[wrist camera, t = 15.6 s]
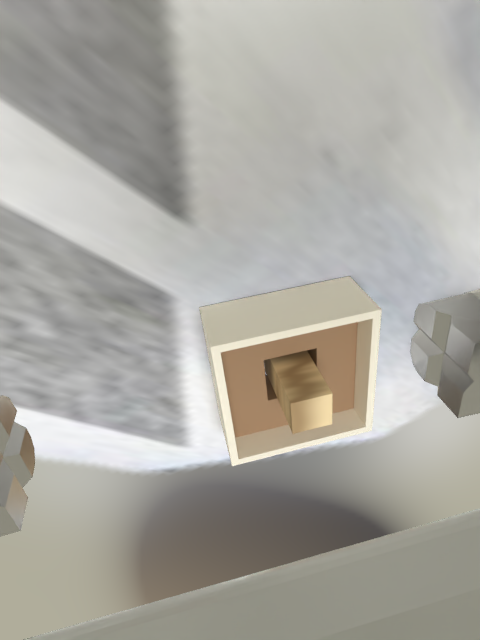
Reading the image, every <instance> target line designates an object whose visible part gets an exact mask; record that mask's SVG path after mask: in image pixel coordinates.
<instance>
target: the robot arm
mask: <svg viewBox="0 0 480 640" xmlns="http://www.w3.org/2000/svg"><path fill="white" fill-rule="evenodd" d="M414 323H415V324H416V325H417V326H418V328H419V330H418V331H417V332H416V334H415V335H414V336H413V338H412V339H411V349H410V353H411V357H412V362H413V365H414V367H415V369H416V371H417V372H418V374H419V375H420V376H421V377H422V379H423V380H424V381H426V382H428V383H431V384H433V385H435V386H438V397H439V398H440V399H441V400H442V401H443V402H444V403H445V404H446V405H447V407H448V408H449V409H450V410H451V411H452V412H453V413H454V414H455V415H456V417H457V418H460V417H464V416H469V415H473V414H478V413H480V289H478V290H474V291H470V292H466V293H464V294H461V295H457V296H453V297H448V298H444V299H439V300H435V301H431V302H426V303H422V304H419V305H418V307H417V309H416V311H415V316H414ZM16 412H17V410H16V409H15V407H14V405H13V404H12V402H11V400H10V399H9V398H8V397H6V396H3V395H2V396H0V536H4V535H7V534H11V533H14V532H18V531H20V530H21V526H22V522H23V518H24V513H25V508H26V504H27V499H28V497H27V495H26V494H25V492H24V490H23V487H24V486H25V485H26V484H27V482H28V481H29V480H30V479H31V478H32V476H33V471H34V466H35V454H34V446H33V443H32V439H31V436H30V434H29V433H28V431H27V429H26V428H25V427H23V426H21V425H19V424H17V423H15V422H14V419H15V416H16ZM24 640H480V509H476V510H473V511H469V512H466V513H462V514H459V515H455V516H452V517H448V518H445V519H442V520H438V521H435V522H431V523H428V524H424V525H421V526H417V527H414V528H410V529H407V530H403V531H400V532H396V533H393V534H389V535H386V536H382V537H379V538H376V539H372V540H369V541H365V542H362V543H358V544H355V545H351V546H348V547H345V548H341V549H337V550H334V551H331V552H327V553H324V554H320V555H316V556H313V557H309V558H306V559H303V560H299V561H296V562H293V563H289V564H285V565H282V566H279V567H275V568H271V569H268V570H264V571H261V572H257V573H254V574H250V575H247V576H243V577H240V578H236V579H233V580H229V581H226V582H223V583H219V584H215V585H212V586H208V587H205V588H202V589H198V590H195V591H191V592H188V593H184V594H181V595H177V596H174V597H170V598H167V599H163V600H160V601H156V602H153V603H149V604H146V605H142V606H139V607H135V608H132V609H128V610H126V611H121V612H118V613H114V614H111V615H108V616H104V617H101V618H97V619H94V620H90V621H87V622H83V623H80V624H76V625H73V626H69V627H66V628H62V629H59V630H55V631H52V632H48V633H45V634H42V635H38V636H34V637H31V638H27V639H24Z"/></svg>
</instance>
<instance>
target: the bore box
mask: <svg viewBox="0 0 480 640" xmlns="http://www.w3.org/2000/svg"><path fill="white" fill-rule="evenodd" d="M199 309H200V314H201V320H202V325H203V330H204V335H205V341H206V346H207V351H208V356H209V362H210V367H211V372H212V378H213V383H214V388H215V393H216V399H217V404H218V409H219V414H220V420H221V424H222V428H223V432H224V436H225V440H226V444H227V448H228V452H229V456H230V459H231V463H232V466H235V465H239V464H242V463H246V462H250V461H254V460H258V459H262V458H266V457H270V456H274V455H278V454H282V453H285V452H289V451H293V450H297V449H301V448H305V447H309V446H313V445H317V444H321V443H325V442H329V441H332V440H336V439H340V438H344V437H348V436H352V435H356V434H360V433H364V432H368V431H372V423H373V410H374V398H375V386H376V373H377V361H378V348H379V336H380V323H381V311H382V309H381V308H380V307H379V306H378V305H377V304H376V303H375V302H374V301H373V300H372V299H371V298H370V297H369V296H368V295H367V294H366V293H365V292H364V291H363V290H362V289H361V288H360V287H359V285H358V284H357V283H356V282H355V281H354V280H353V279H352V278H351V277H350V276H347V277H342V278H338V279H333V280H328V281H323V282H318V283H314V284H309V285H304V286H299V287H294V288H290V289H285V290H280V291H275V292H270V293H266V294H261V295H256V296H251V297H246V298H242V299H237V300H232V301H227V302H222V303H218V304H213V305H208V306H203V307H199ZM306 350H307V351H308V353H309V355H310V356H311V358H312V360H313V362H314V363H315V365H316V367H317V368H318V370H319V372H320V373H321V375H322V377H323V378H324V380H325V382H326V383H327V385H328V387H329V389H330V390H331V392H332V424H331V425H327V426H323V427H319V428H315V429H311V430H307V431H303V432H299V433H295V434H292V431H291V429H290V427H289V424H288V422H287V420H286V417H285V415H284V413H283V410H282V408H281V406H280V403H279V401H278V399H277V396H276V394H275V392H274V389H273V387H272V385H271V382H270V380H269V378H268V375H267V376H265V368H264V360H267V359H271V358H275V357H280V356H284V355H289V354H293V353H297V352H302V351H306Z"/></svg>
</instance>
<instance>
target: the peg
mask: <svg viewBox="0 0 480 640" xmlns="http://www.w3.org/2000/svg"><path fill="white" fill-rule="evenodd" d="M264 363H265V371H266V373H267V375H268V378H269V380H270V382H271V385H272V387H273V389H274V392H275V394H276V396H277V399H278V401H279V403H280V406H281V408H282V410H283V413H284V415H285V417H286V420H287V422H288V424H289V427H290V429H291V431H292V434H295V433H299V432H303V431H307V430H311V429H315V428H319V427H323V426H327V425H331V424H332V392H331V390H330V389H329V387H328V385H327V383H326V382H325V380H324V378H323V377H322V375H321V373H320V372H319V370H318V368H317V367H316V365H315V363H314V362H313V360H312V358H311V356H310V355H309V353H308V351H307V350H306V351H302V352H297V353H293V354H289V355H284V356H280V357H275V358H271V359H267V360H264Z"/></svg>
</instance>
